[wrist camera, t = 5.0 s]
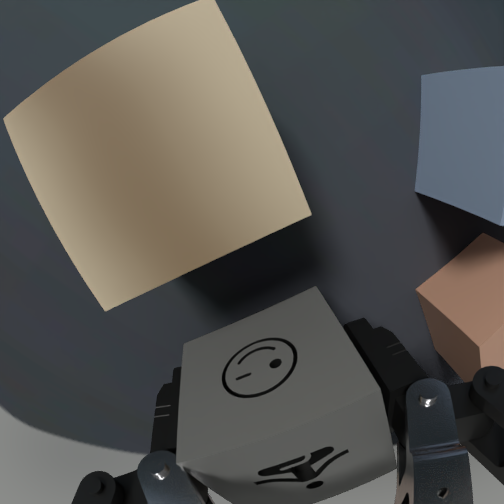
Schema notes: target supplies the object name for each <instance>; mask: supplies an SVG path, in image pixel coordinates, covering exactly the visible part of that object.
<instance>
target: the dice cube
mask: <svg viewBox="0 0 504 504" xmlns="http://www.w3.org/2000/svg"><path fill="white" fill-rule="evenodd" d="M176 464H177V465H179V466H180V467H183V468H184V469H185V470H186V471H187V472H188V473H189V474H190V475H192V476H193V477H194V478H196V479H197V480H198V481H200V482H201V483H203V484H204V485H206V486H207V487H208V488H210V489H211V490H213V491H214V492H216V493H217V494H219V495H220V496H222V497H223V498H225V499H226V500H228V501H229V502H231V503H232V504H313V503H316V502H319V501H322V500H325V499H327V498H330V497H333V496H336V495H338V494H341V493H343V492H346V491H348V490H351V489H353V488H355V487H358V486H360V485H362V484H365V483H367V482H369V481H371V480H374V479H376V478H378V477H380V476H382V475H384V474H386V473H388V472H390V471H393V470H394V469H396V468H397V465H396V460H395V454H394V449H393V444H392V439H391V434H390V429H389V424H388V420H387V415H386V411H385V406H384V402H383V398H382V393H381V389H380V387H379V386H378V384H377V382H376V381H375V379H374V377H373V376H372V374H371V373H370V371H369V369H368V368H367V366H366V364H365V363H364V361H363V360H362V358H361V356H360V355H359V353H358V351H357V350H356V348H355V347H354V345H353V343H352V342H351V340H350V339H349V337H348V335H347V334H346V332H345V331H344V329H343V327H342V326H341V324H340V323H339V321H338V320H337V318H336V316H335V315H334V313H333V312H332V310H331V309H330V307H329V305H328V304H327V302H326V301H325V299H324V298H323V296H322V294H321V293H320V291H319V290H318V288H317V287H316V286H314V287H312V288H310V289H308V290H306V291H304V292H302V293H300V294H297V295H295V296H293V297H291V298H289V299H287V300H284V301H282V302H280V303H278V304H276V305H273V306H271V307H269V308H267V309H264V310H262V311H260V312H258V313H255V314H253V315H251V316H249V317H246V318H244V319H242V320H239V321H237V322H235V323H233V324H230V325H228V326H225V327H223V328H221V329H218V330H216V331H214V332H211V333H209V334H206V335H204V336H202V337H199V338H197V339H194V340H192V341H189V342H187V343H185V344H184V346H183V357H182V369H181V382H180V396H179V411H178V429H177V450H176Z"/></svg>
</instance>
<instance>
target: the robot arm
mask: <svg viewBox="0 0 504 504" xmlns="http://www.w3.org/2000/svg"><path fill="white" fill-rule="evenodd" d="M344 331H345V332H346V334H347V335H348V337H349V339H350V340H351V342H352V343H353V345H354V347H355V348H356V350H357V351H358V353H359V355H360V356H361V358H362V360H363V361H364V363H365V364H366V366H367V368H368V369H369V371H370V373H371V374H372V376H373V377H374V379H375V381H376V382H377V384H378V386H379V387H380V389H381V393H382V398H383V402H384V406H385V411H386V415H387V420H388V424H389V429H390V433H391V432H393V431H394V432H395V433H396V435H397V437H398V441H397V490H396V497H395V503H394V504H473V493H472V482H471V473H470V465H469V457H468V452H469V453H470V454H471V455H472V456H474V457H475V458H476V459H477V460H478V461H479V462H480V463H481V464H482V465H483V466H484V467H485V468H486V469H487V470H489V472H490V473H491V474H493V475H494V476H495V477H496V478H497V479H498V480H499V481H500V482H501V483H502V484H503V485H504V369H502V368H500V367H497V366H486V367H483V368H481V369H479V370H478V371H477V372H476V373H475V375H474V377H473V380H472V381H470V382H465V383H460V384H456V385H446V384H444V383H443V382H442V381H440V380H437V379H432V378H428V376H427V375H426V374H425V373H424V371H423V370H422V369H421V368H420V366H419V365H418V364H417V362H416V361H415V360H414V359H413V357H412V356H411V355H410V354H409V352H408V351H406V349H405V347H404V346H403V345H402V344H401V343H400V341H399V340H398V339H397V337H396V336H395V335H394V334H393V333H392V332H391V331H389V330H387V329H385V328H383V327H378V328H375V329H373V328H372V327H371V325H370V324H369V323H368V321H367V320H366V319H365V318H361V319H358V320H355V321H352V322H349V323H346V324H344ZM181 369H182V367H177V368H174V370H173V379H172V383H168V384H164V385H163V386H162V388H161V390H160V391H159V393H158V395H157V401H156V409H155V418H154V424H153V433H152V442H151V451H150V454H148V455H147V456H145V457H144V458H143V459H142V460H141V462H140V463H139V465H138V469H137V470H135V471H133V472H130V473H127V474H124V475H121V476H118V477H115V478H113V477H112V476H111V475H109V474H108V473H106V472H103V471H95V472H92V473H90V474H88V475H87V476H85V477H84V479H83V480H82V481H81V483H80V485H79V487H78V489H77V492H76V494H75V497H74V499H73V501H72V504H215V503H214V502H213V500H212V498H211V496H210V495H209V494H208V487H207V486H206V485H204V484H203V483H201V482H200V481H198V480H197V479H196V478H194V477H193V476H192V475H190V474H189V473H188V472H187V471H186V470H185V469H184V468H183V467H180V466H179V465H177V464H176V450H177V429H178V411H179V396H180V382H181ZM460 444H461V445H460ZM467 451H468V452H467Z"/></svg>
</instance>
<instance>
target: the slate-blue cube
mask: <svg viewBox="0 0 504 504" xmlns="http://www.w3.org/2000/svg"><path fill="white" fill-rule="evenodd" d="M415 192H418V193H421V194H424V195H426V196H429V197H432V198H434V199H437V200H440V201H442V202H445V203H448V204H450V205H453V206H455V207H458V208H460V209H463V210H465V211H467V212H470V213H472V214H475V215H477V216H479V217H482V218H484V219H486V220H489V221H491V222H493V223H495V224H498V225H500V226H504V66H497V67H484V68H473V69H464V70H456V71H448V72H440V73H434V74H427V75H421V124H420V141H419V154H418V166H417V175H416V184H415Z"/></svg>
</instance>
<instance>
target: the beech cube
mask: <svg viewBox="0 0 504 504" xmlns="http://www.w3.org/2000/svg"><path fill="white" fill-rule="evenodd" d="M3 120H4V122H5V125H6V128H7V130H8V133H9V135H10V138H11V140H12V143H13V145H14V148H15V150H16V153H17V155H18V157H19V160H20V162H21V164H22V166H23V169H24V171H25V173H26V175H27V177H28V179H29V182H30V184H31V186H32V188H33V190H34V192H35V194H36V196H37V198H38V200H39V202H40V204H41V206H42V208H43V210H44V212H45V214H46V216H47V217H48V219H49V221H50V223H51V225H52V227H53V229H54V230H55V232H56V234H57V236H58V237H59V239H60V241H61V243H62V244H63V246H64V248H65V250H66V251H67V253H68V255H69V256H70V258H71V260H72V261H73V263H74V265H75V266H76V268H77V269H78V271H79V273H80V274H81V276H82V277H83V279H84V280H85V282H86V284H87V285H88V287H89V288H90V290H91V291H92V293H93V294H94V296H95V297H96V299H97V300H98V302H99V303H100V305H101V306H102V307H103V309H104V310H105V311H107V310H109V309H111V308H113V307H116V306H118V305H120V304H122V303H124V302H126V301H128V300H130V299H132V298H135V297H137V296H139V295H141V294H143V293H145V292H147V291H149V290H151V289H154V288H156V287H158V286H160V285H162V284H164V283H166V282H168V281H170V280H173V279H175V278H177V277H179V276H181V275H183V274H185V273H187V272H190V271H192V270H194V269H196V268H198V267H200V266H202V265H204V264H207V263H209V262H211V261H213V260H215V259H217V258H219V257H222V256H224V255H226V254H228V253H230V252H232V251H234V250H237V249H239V248H241V247H243V246H245V245H247V244H250V243H252V242H254V241H256V240H258V239H260V238H262V237H265V236H267V235H269V234H271V233H273V232H275V231H278V230H280V229H282V228H284V227H286V226H288V225H291V224H293V223H295V222H297V221H299V220H301V219H304V218H306V217H308V216H310V215H312V214H311V212H310V209H309V206H308V204H307V201H306V199H305V196H304V194H303V191H302V189H301V186H300V184H299V181H298V179H297V176H296V174H295V171H294V169H293V166H292V164H291V161H290V159H289V157H288V154H287V152H286V149H285V147H284V145H283V142H282V140H281V138H280V135H279V133H278V131H277V128H276V126H275V124H274V122H273V119H272V117H271V115H270V113H269V110H268V108H267V106H266V104H265V101H264V99H263V97H262V95H261V93H260V90H259V88H258V86H257V84H256V82H255V80H254V78H253V76H252V73H251V71H250V69H249V67H248V65H247V63H246V61H245V59H244V57H243V55H242V53H241V51H240V49H239V47H238V45H237V43H236V41H235V39H234V37H233V35H232V33H231V31H230V29H229V27H228V25H227V23H226V21H225V19H224V17H223V15H222V13H221V12H220V10H219V8H218V6H217V4H216V2H215V0H199V1H196V2H193V3H191V4H188V5H186V6H183V7H181V8H178V9H176V10H174V11H171V12H169V13H167V14H164V15H162V16H160V17H158V18H156V19H153V20H151V21H149V22H147V23H145V24H143V25H141V26H139V27H137V28H135V29H133V30H131V31H129V32H127V33H125V34H123V35H121V36H120V37H118V38H116V39H114V40H112V41H111V42H109V43H107V44H105V45H104V46H102V47H100V48H99V49H97V50H95V51H94V52H92V53H90V54H89V55H87V56H85V57H84V58H82V59H81V60H79V61H78V62H76V63H75V64H73V65H72V66H70V67H69V68H67V69H66V70H64V71H63V72H61V73H60V74H58V75H57V76H56V77H54V78H53V79H51V80H50V81H49V82H47V83H46V84H45V85H43V86H42V87H41V88H39V89H38V90H37V91H36V92H34V93H33V94H32V95H30V96H29V97H28V98H27V99H26V100H24V101H23V102H22V103H21V104H19V105H18V106H17V107H16V108H15V109H14V110H12V111H11V112H10V113H9V114H8V115H7V116H6V117H4V118H3Z"/></svg>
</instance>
